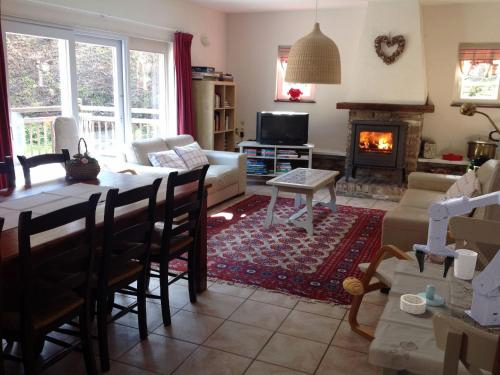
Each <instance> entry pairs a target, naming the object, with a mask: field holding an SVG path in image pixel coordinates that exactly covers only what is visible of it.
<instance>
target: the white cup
mask: <svg viewBox="0 0 500 375" xmlns="http://www.w3.org/2000/svg"><path fill="white" fill-rule="evenodd" d="M454 251H455V252H459V258H458V259H454V261H453V263H454V267H453V268H454V269H453V270H454V274H453V276H454V277H455V278H457V279H459V280H465V281H470V280H471V281H472V280H473V278H474V273H475V270H476V264H477V259H478V253H477V252H475V251H473V250H471V249H465V248H462V249H461V248H459V249H456V250H454Z"/></svg>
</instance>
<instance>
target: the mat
mask: <svg viewBox="0 0 500 375" xmlns="http://www.w3.org/2000/svg"><path fill="white" fill-rule="evenodd" d="M447 306H448V307H449V306H450V305H449V304H448V303H447V302H446V301H444V304H443V305H441V306H440V307H447ZM430 307H432V308H433V307H434V306H429V305H426V308H430Z"/></svg>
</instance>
